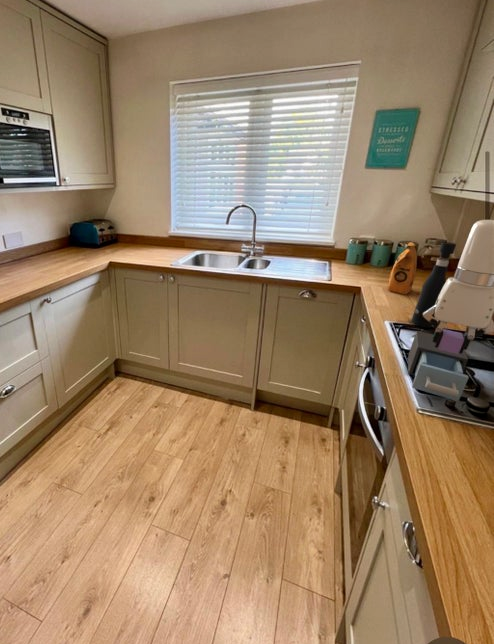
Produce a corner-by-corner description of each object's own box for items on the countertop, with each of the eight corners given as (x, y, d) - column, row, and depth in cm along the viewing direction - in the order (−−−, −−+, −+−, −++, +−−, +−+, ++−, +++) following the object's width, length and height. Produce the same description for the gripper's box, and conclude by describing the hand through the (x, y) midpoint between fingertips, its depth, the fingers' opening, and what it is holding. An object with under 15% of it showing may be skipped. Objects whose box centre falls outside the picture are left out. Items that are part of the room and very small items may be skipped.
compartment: (456, 387, 86) (468, 359, 82) (408, 374, 91) (417, 347, 87) (451, 367, 95) (461, 341, 91) (407, 356, 100) (416, 330, 96)
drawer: (461, 413, 75) (472, 388, 73) (412, 398, 80) (421, 374, 77) (453, 380, 87) (462, 358, 85) (411, 368, 92) (419, 347, 89)
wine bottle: (434, 325, 121) (464, 244, 109) (427, 329, 118) (456, 246, 106) (415, 318, 126) (442, 240, 114) (407, 322, 122) (434, 242, 111)
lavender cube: (458, 354, 78) (464, 339, 77) (437, 349, 80) (443, 334, 79) (456, 347, 82) (462, 333, 80) (436, 342, 83) (442, 328, 82)
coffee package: (383, 290, 155) (396, 244, 147) (388, 284, 164) (401, 240, 155) (408, 295, 149) (423, 247, 141) (412, 289, 158) (426, 243, 150)
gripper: (520, 280, 73) (488, 352, 80) (429, 266, 81) (407, 332, 88) (531, 289, 67) (494, 366, 74) (431, 274, 75) (407, 344, 82)
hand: (447, 347), depth 81 cm, fingers closed on lavender cube, 4 cm apart
